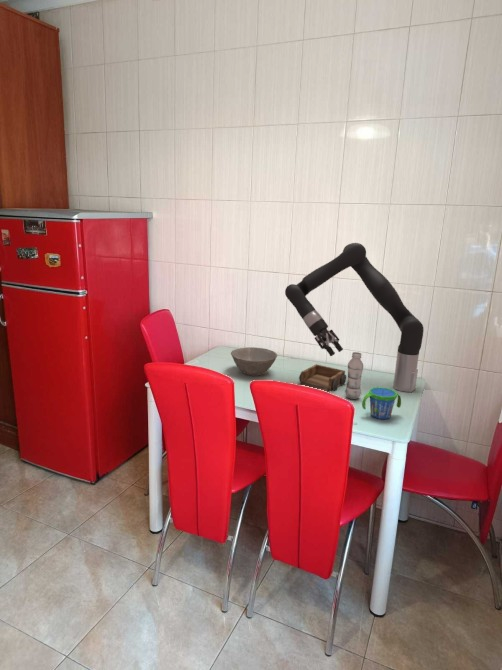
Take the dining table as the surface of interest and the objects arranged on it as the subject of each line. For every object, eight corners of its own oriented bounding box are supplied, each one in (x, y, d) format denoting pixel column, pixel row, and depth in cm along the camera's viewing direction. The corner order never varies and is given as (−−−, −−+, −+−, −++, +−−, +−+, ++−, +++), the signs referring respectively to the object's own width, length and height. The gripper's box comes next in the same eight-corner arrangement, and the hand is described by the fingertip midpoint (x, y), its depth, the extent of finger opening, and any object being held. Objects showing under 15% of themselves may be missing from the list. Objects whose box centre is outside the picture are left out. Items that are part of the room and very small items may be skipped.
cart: (327, 395, 201) (329, 382, 199) (293, 386, 210) (294, 373, 208) (346, 383, 217) (347, 371, 215) (313, 375, 226) (314, 363, 225)
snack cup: (365, 421, 176) (368, 396, 173) (356, 410, 186) (359, 386, 184) (404, 421, 178) (408, 396, 175) (394, 410, 188) (397, 387, 185)
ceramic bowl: (244, 363, 241) (245, 344, 238) (284, 372, 229) (285, 352, 227) (220, 374, 222) (221, 354, 220) (262, 384, 211) (263, 363, 208)
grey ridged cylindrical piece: (360, 401, 196) (365, 356, 191) (344, 399, 197) (348, 354, 192) (360, 396, 202) (365, 352, 197) (344, 394, 203) (348, 350, 198)
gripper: (313, 320, 195) (336, 351, 192) (328, 315, 207) (350, 344, 203) (301, 330, 199) (324, 361, 196) (316, 325, 211) (337, 354, 207)
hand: (337, 352), depth 200 cm, fingers open, 8 cm apart
